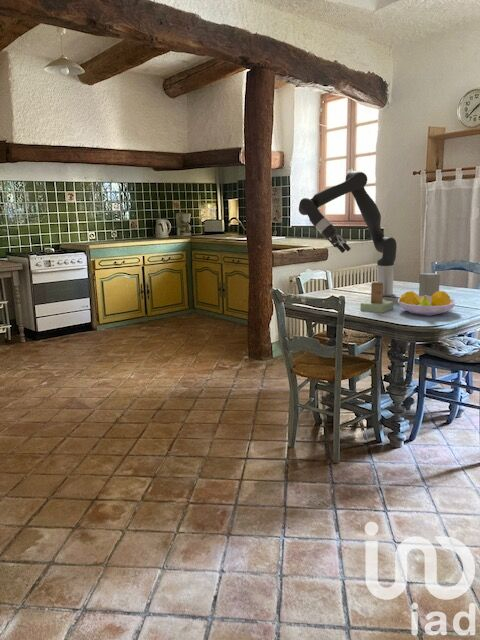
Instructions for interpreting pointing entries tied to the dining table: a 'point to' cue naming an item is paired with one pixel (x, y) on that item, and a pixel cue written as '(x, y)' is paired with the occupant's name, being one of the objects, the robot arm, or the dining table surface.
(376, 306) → the sage platform block
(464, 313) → the dining table surface
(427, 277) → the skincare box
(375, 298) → the walnut block
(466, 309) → the dining table surface
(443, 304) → the fruit bowl
